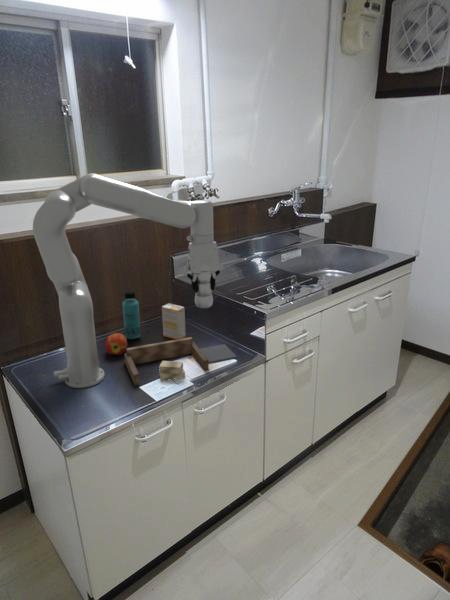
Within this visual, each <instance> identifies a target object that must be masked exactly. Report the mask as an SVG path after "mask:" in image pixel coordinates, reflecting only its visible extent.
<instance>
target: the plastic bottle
mask: <svg viewBox="0 0 450 600" xmlns="http://www.w3.org/2000/svg"><path fill="white" fill-rule="evenodd" d="M201 272H202V273H200V274H197V278H196V281H197V283H198V292H197V293H195V294H194V295H195V296H194V304H195V307H197V308H199V309H208V308H210V307H212V306H213V304H214V303H213V302H214V297H213V296H214V295H213V292H212V291H213V290H212V289H211V274H212V272H210V267H209V265H204V266H202V268H201Z"/></svg>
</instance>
